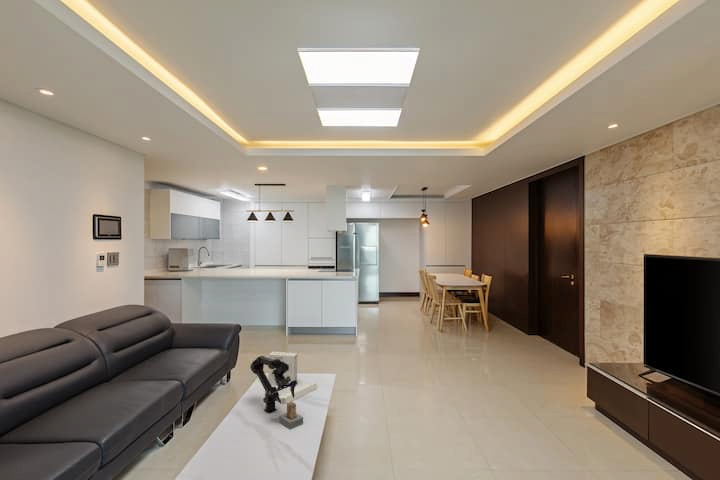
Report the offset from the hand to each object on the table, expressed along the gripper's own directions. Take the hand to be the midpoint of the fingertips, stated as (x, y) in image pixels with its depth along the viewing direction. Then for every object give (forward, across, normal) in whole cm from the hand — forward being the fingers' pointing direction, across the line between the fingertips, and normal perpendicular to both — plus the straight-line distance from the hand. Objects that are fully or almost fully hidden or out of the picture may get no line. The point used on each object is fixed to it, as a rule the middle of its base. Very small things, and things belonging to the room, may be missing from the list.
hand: (287, 400), depth 227 cm
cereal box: (-23, +19, +56) cm, 64 cm away
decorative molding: (-7, +20, +37) cm, 43 cm away
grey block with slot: (+13, -1, +5) cm, 14 cm away
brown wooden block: (+13, -1, +5) cm, 14 cm away
